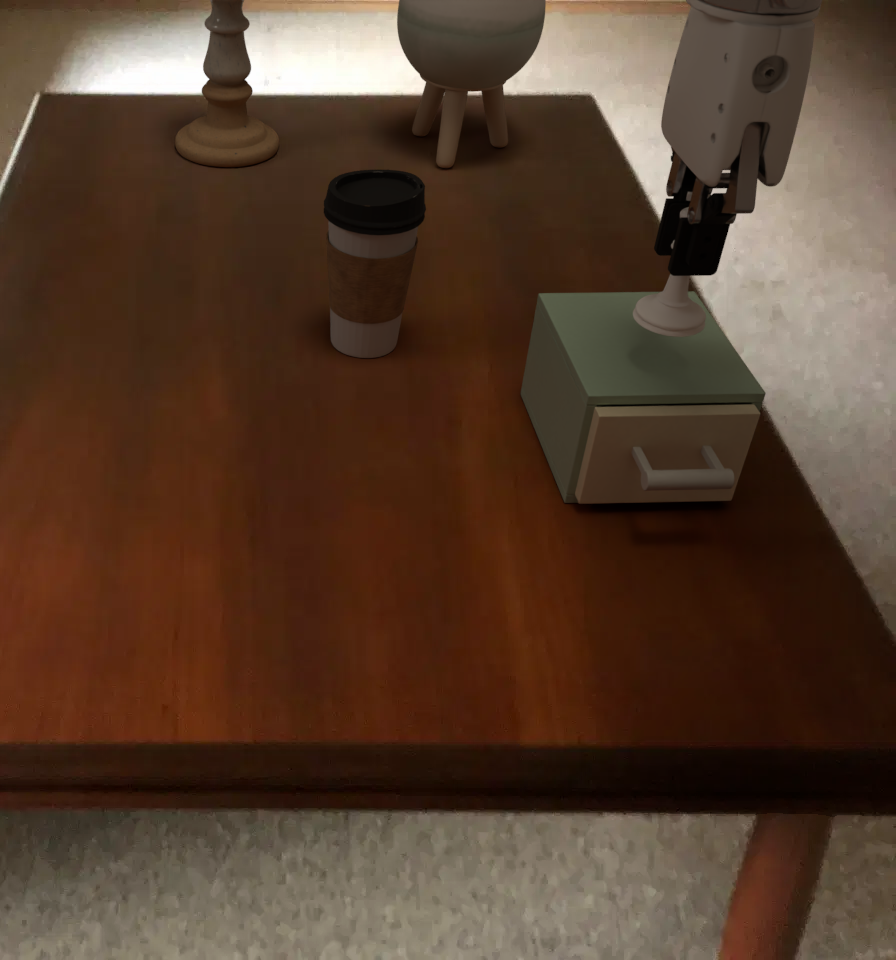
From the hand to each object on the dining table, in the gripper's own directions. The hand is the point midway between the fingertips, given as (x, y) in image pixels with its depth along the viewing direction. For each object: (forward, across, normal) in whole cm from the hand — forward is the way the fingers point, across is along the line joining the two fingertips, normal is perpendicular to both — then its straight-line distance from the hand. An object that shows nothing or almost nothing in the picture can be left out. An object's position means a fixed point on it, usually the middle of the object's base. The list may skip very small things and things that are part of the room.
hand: (684, 261), depth 80 cm
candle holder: (+18, +64, +29) cm, 72 cm away
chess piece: (+5, 0, 0) cm, 5 cm away
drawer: (+17, -1, 0) cm, 17 cm away
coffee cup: (+18, +19, +18) cm, 32 cm away
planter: (+18, +63, +2) cm, 65 cm away
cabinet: (+18, +3, 0) cm, 18 cm away
